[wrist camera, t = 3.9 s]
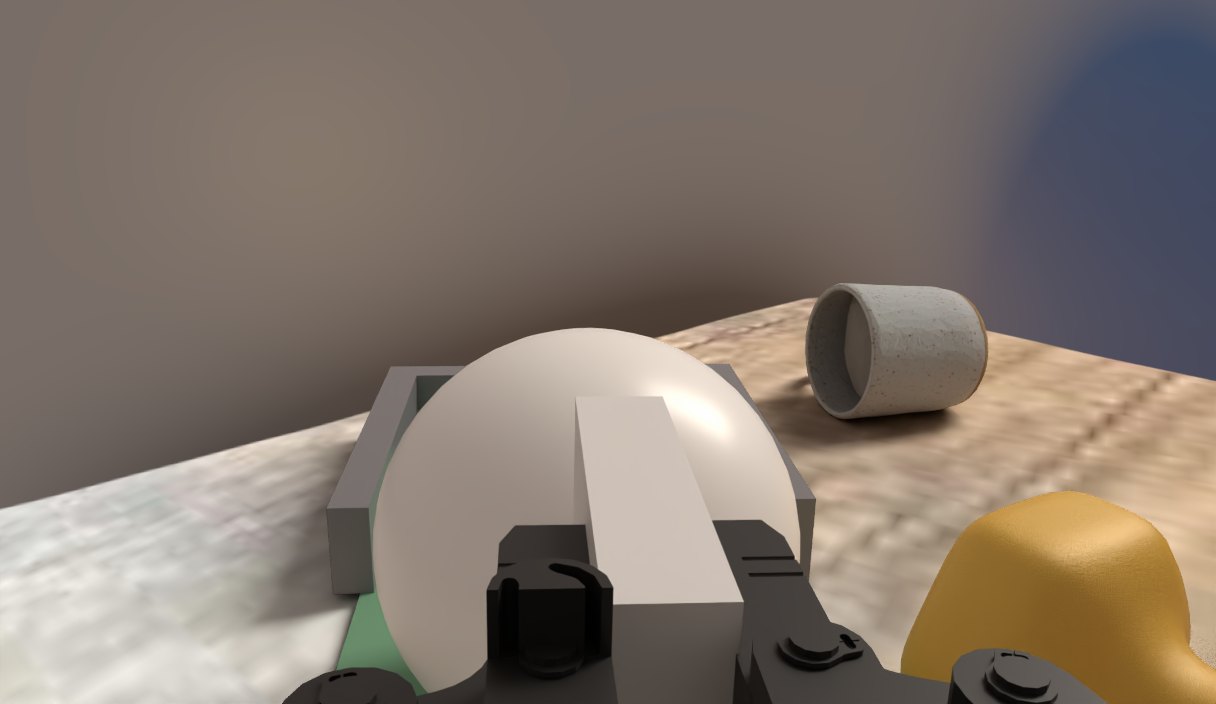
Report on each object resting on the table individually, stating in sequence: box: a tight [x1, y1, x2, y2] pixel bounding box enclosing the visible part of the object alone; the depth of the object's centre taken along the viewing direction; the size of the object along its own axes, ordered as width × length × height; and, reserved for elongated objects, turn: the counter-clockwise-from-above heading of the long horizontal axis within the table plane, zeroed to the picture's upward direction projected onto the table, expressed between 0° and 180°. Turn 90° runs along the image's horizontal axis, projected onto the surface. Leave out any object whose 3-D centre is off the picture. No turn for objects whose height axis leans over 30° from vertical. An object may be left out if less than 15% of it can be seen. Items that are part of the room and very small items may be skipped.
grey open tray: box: [326, 364, 816, 594], centre depth 43 cm, size 18×16×4 cm
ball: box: [373, 328, 800, 693], centre depth 27 cm, size 12×12×12 cm
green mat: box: [336, 587, 427, 696], centre depth 37 cm, size 16×32×1 cm, turn 4°
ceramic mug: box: [805, 283, 988, 419], centre depth 57 cm, size 11×8×8 cm
